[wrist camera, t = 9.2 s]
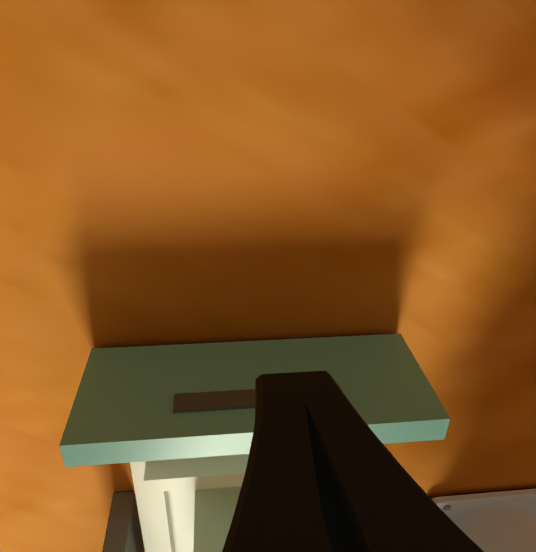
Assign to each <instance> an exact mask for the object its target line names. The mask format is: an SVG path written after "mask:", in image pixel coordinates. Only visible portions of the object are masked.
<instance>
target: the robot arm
mask: <svg viewBox="0 0 536 552" xmlns="http://www.w3.org/2000/svg"><path fill="white" fill-rule="evenodd" d="M222 552H536V488H535V489H524V490H512V491H500V492H489V493H477V494H465V495H454V496H442V497H434V498H432V499H431V498H430V497H429V496H428V495H427V494H426V493H425V492H424V490H423V489H422V488H421V487H420V486H419V485H418V484H417V483H416V482H415V481H414V480H413V478H412V477H411V476H410V475H409V474H408V473H407V472H406V471H405V469H404V468H403V467H402V466H401V465H400V464H399V462H398V461H397V460H396V459H395V458H394V457H393V455H392V454H391V453H390V452H389V451H388V449H387V448H386V447H385V446H384V445H383V443H382V442H381V441H380V440H379V439H378V437H377V436H376V435H375V434H374V432H373V431H372V430H371V429H370V427H369V426H368V425H367V424H366V422H365V421H364V420H363V419H362V417H361V416H360V415H359V413H358V412H357V411H356V409H355V408H354V407H353V405H352V404H351V403H350V401H349V400H348V399H347V397H346V396H345V395H344V393H343V392H342V390H341V389H340V388H339V386H338V385H337V383H336V382H335V380H334V379H333V378H332V376H331V375H330V374H329V373H328V372H327V371H326V370H325V371H308V372H290V373H273V374H261V375H260V376H259V377H258V378H256V379H255V424H254V432H253V437H252V442H251V447H250V452H249V457H248V462H247V467H246V471H245V475H244V479H243V483H242V486H241V490H240V494H239V497H238V501H237V504H236V508H235V512H234V515H233V519H232V522H231V525H230V529H229V532H228V535H227V538H226V541H225V544H224V547H223V550H222Z"/></svg>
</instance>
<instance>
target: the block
mask: <svg viewBox="0 0 536 552" xmlns="http://www.w3.org/2000/svg"><path fill="white" fill-rule="evenodd" d="M240 490H241V487H238V488H223V489H208V490H195V509H194V548H193V552H222V550H223V547H224V544H225V541H226V538H227V535H228V532H229V529H230V525H231V522H232V519H233V515H234V512H235V508H236V504H237V501H238V497H239V494H240Z"/></svg>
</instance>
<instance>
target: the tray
mask: <svg viewBox="0 0 536 552" xmlns="http://www.w3.org/2000/svg"><path fill="white" fill-rule="evenodd" d="M325 370H326V371H327V372H328V373H329V374H330V375H331V376H332V378H333V379H334V380H335V382H336V383H337V385H338V386H339V388H340V389H341V390H342V392H343V393H344V395H345V396H346V397H347V399H348V400H349V401H350V403H351V404H352V405H353V407H354V408H355V409H356V411H357V412H358V413H359V415H360V416H361V417H362V419H363V420H364V421H365V422H366V424H367V425H368V426H369V427H370V429H371V430H372V431H373V432H374V434H375V435H376V436H377V437H378V439H379V440H380V441H381V442H382V443H383V444H389V443H403V442H416V441H430V440H444V439H445V436H446V433H447V429H448V425H449V422H450V417H449V416H448V414H447V412H446V411H445V409H444V407H443V406H442V404H441V402H440V400H439V399H438V397H437V395H436V394H435V392H434V390H433V388H432V387H431V385H430V383H429V382H428V380H427V378H426V376H425V375H424V373H423V371H422V370H421V368H420V366H419V364H418V363H417V361H416V359H415V358H414V356H413V354H412V352H411V351H410V349H409V347H408V346H407V344H406V342H405V340H404V339H403V337H402V335H401V334H381V335H361V336H340V337H320V338H299V339H279V340H258V341H238V342H217V343H197V344H176V345H156V346H135V347H115V348H94V349H91V352H90V355H89V358H88V361H87V364H86V367H85V370H84V373H83V376H82V379H81V382H80V385H79V388H78V391H77V394H76V397H75V400H74V403H73V406H72V409H71V412H70V415H69V418H68V421H67V424H66V427H65V430H64V433H63V436H62V439H61V442H60V445H59V446H60V450H61V454H62V458H63V461H64V465H65V467H74V466H88V465H102V464H115V463H129V462H130V466H131V472H132V477H133V483H134V489H135V495H136V501H137V507H138V512H139V518H140V524H141V530H142V536H143V542H144V547H145V552H193V548H194V509H195V490H208V489H223V488H238V487H241V486H242V483H243V479H244V475H245V471H246V467H247V462H248V457H249V452H250V447H251V442H252V437H253V432H254V424H255V379H256V378H258V377H259V376H260V375H261V374H273V373H290V372H308V371H325Z"/></svg>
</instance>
